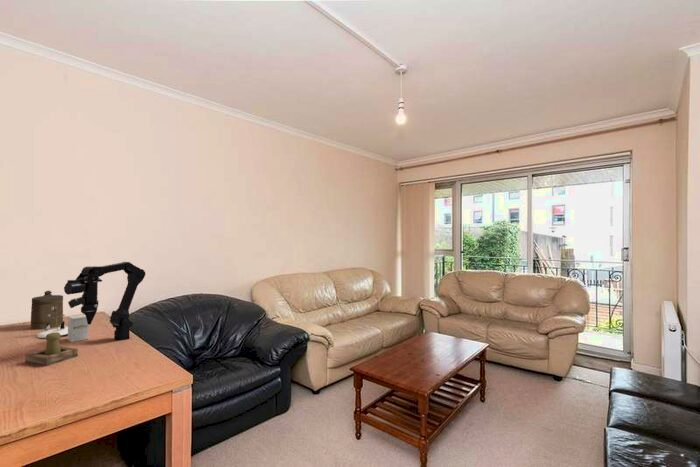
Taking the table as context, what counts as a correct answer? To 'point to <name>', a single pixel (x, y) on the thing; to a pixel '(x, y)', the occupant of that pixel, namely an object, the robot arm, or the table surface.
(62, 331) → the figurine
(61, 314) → the wooden container
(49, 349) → the olive mushroom shape
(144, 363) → the table surface
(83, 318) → the supplement box
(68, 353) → the walnut pocket block
